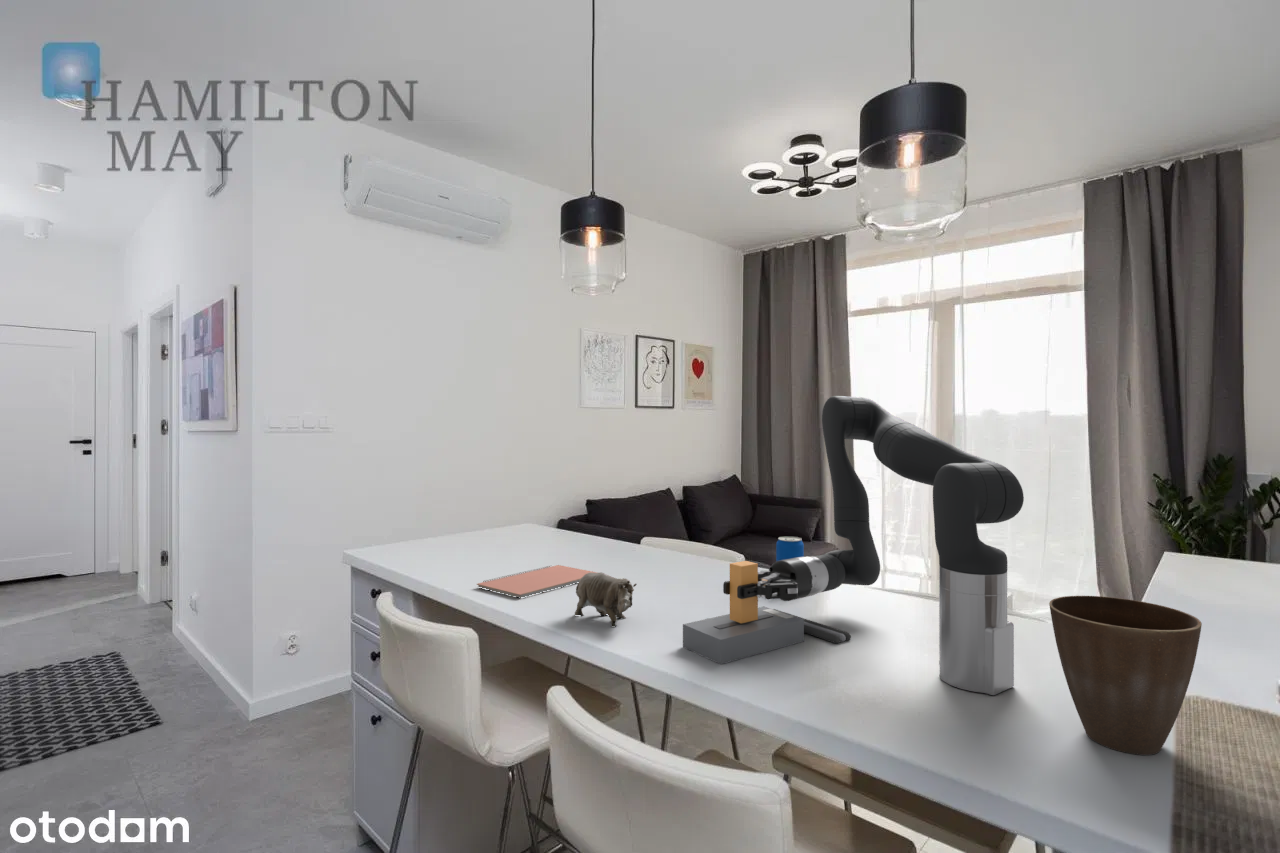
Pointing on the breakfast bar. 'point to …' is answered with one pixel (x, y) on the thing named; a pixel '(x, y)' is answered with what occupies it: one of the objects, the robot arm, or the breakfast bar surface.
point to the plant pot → (1125, 667)
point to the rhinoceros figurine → (604, 595)
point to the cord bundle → (824, 631)
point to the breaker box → (742, 635)
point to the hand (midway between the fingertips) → (732, 590)
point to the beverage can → (789, 548)
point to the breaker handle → (739, 607)
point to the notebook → (535, 580)
